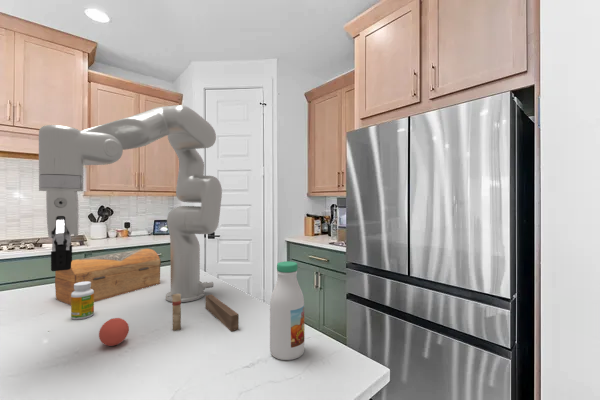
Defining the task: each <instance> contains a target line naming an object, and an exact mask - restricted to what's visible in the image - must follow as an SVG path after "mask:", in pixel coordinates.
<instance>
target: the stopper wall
mask: <svg viewBox="0 0 600 400" xmlns="http://www.w3.org/2000/svg"><path fill="white" fill-rule="evenodd" d="M205 309H206V310H207V311H208V312H209V313H210V314H211V315H212V316H213V317H215V318H216V319H217V320H218V321H219V322H220V323H221V324H222V325H223V326H225V328H227V329H228V331H230V332H235V331H239V319H240V318H239V313H238V312H236V311H235V310H233V309H232V308H231V307H230V306H228V305H227V304H226V303H224V302H222V300H220V299H219V298H218V297H216V296H214V294H205Z"/></svg>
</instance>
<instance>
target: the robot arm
mask: <svg viewBox="0 0 600 400" xmlns="http://www.w3.org/2000/svg"><path fill="white" fill-rule="evenodd" d="M166 136H167V139H168V143H169V145H170V146H171V147H172V149H173V151H174V152H175V154H176V155H177V158H178V162H179V163H178V174H177V180H176V181H177V182H176V187H175V194H176V199H178V201H180V202H182V203H187V204H189V203H193V204H198V203H199V204H200V206H195V205H182V206H181V205H179V206H176V207H174V208H171V210H170V211H169V212H168V214H167V217H166V223H167V228H168V232H169V241H170V291H169V292H168V293H166V294H165V300H166V301H167V302H171V303H172V301H173V294H181V303H189V302H193V301H196V300H199V299H201V298H203V297H204V296H205V289H212V288H214V287H215V285H214V282H213V281H211V282H208V281H204V282H202V281H200V280H201V276H200V275H201V273H200V272H201V271H200V267H201V265H200V264H201V263H200V260H201V258H200V256H201V254H200V253H201V248H200V247H201V246H200V242H199V239H198V237H197V236H196V235H210V234H211V235H212V234H213V233H214V232H216V230H217V229H218V226H219V222H220V216H221V215H220V214H221V206H222V205H221V204H222V197H223V196H222V195H223V190H222V189H223V188H222V184H221V182H220V180H219V178H217V177H216V176H214V175H204V173H205V162H204V160H203V157H202V156H201V154H200V153H199V152H198V149H208V148H212V147H213V146H214V145H215V143H216V139H217V135H216V130H215V128H214V127H213V126H212V124H211V123H210V122H208V121H207V120H206V119H205V118H204V117H202V116H201V115H200V114H199V113H198V112H196V111H195V110H194V109H192V108H190V107H189V106H186V105H184V104H177V105H167V106H166V105H165V106H157V107H154V108H152V109H149V110H145V111H143V112H140V113H137V114H134V115H131V116H128V117H123V118H120V119H117V120H114V121H110V122H107V123H103V124H100V125H96V126H91V127H88V128H85V129H81V130H80V129H77V128H75V127H71V126H66V125H60V124H59V125H57V124H47V125H46V124H45V125H42V126H41V127H40V128H39V130H38V191H39V192H40V191H41V192H46V193H45V194H46V195H45V198H46V199H45V200H46V226H47V234H48V235H47V236H48V237H49V238H51V241H52V245H51V247H52V248H51V249H52V251H50V272H55V271H61V270H69V269H71V262H72V260H73V245H72V239H71V238H72V235H73V237H74V238H77V237H78V236H79V195H78V192H84V166H104V165H105V166H106V165H110V164H114V163H116V162H118V161H119V160H121V158H122V156H123V153H124V151H126V150H133V149H137V148H141V147H145V146H147V145H150V144H151V143H153V142H156V141H158V140H160V139H161V138H164V137H166ZM123 150H124V151H123Z"/></svg>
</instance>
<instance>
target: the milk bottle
mask: <svg viewBox="0 0 600 400" xmlns="http://www.w3.org/2000/svg"><path fill="white" fill-rule="evenodd" d="M298 268H299V267H298V263H297V262H295V261H280V262H278V263H277V264H276V271H277V272H276V274H277V278H276V279H277V280H276V284H275V286H274V287H273V290H272V293H271V297H270V302H269V303H270V305H269V308H270V309H269V352H270V354H271V356H272V357H274V358H275V359H278V360H282V361H292V360H295V359H296V360H297V359H298V358H300V357H302V356H303V354H304V352H305V338H306V337H305V299H304V294H303V291H302V289H301V286H300V284H299V281H298V278H297V277H298V276H297V274H298Z"/></svg>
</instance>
